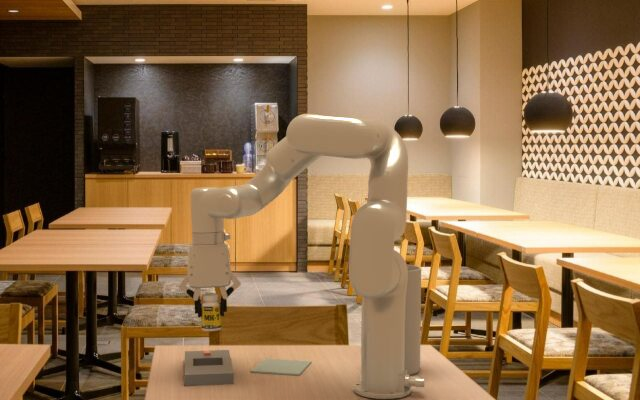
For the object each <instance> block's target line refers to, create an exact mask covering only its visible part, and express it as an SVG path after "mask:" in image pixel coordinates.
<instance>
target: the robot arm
mask: <svg viewBox="0 0 640 400" xmlns="http://www.w3.org/2000/svg"><path fill="white" fill-rule="evenodd" d="M285 133H286V134H285V137H283V138H282V139H281V140H280V141H278V142H277V143H276V144H275V145H273V147H271V148H270V149H269V150H268V151H267V152H266V156H265V158H266V163H265V165H264V167H263V168H262V169H261V170H260V171H259V172H258V173H257V174H256V175H254V176H253V177H252V178H251V179H249V180H248V181H247V182H246V183H244V184H240V185H231V186H224V187H217V186H207V187H205V186H204V187H195V188H193V189H192V190H191V191H190V215H191V217H190V218H191V238H192V239H191V240H192V244H191V245H189V247H188V254H187V274H186V275H185V277H184V278H183V279H182V281H181V282H180V284H179V285H178V287H179V289H180V290H181V291H183V292H184V293H185V294H187V295H188V296H189V297H190V298H191V299H192V300H193V301H194V314H197V318H201V303H202V298H201V297H200V293H201V292H200V291H201V289H204V288H205V289H207V288H208V289H210V288H211V289H212V288H219V290H220V294H221V296H220V297H221V298H220V303H221V317H225V313H227V312H228V305H227V304H228V303H227V302H228V301H227V299H228V297H230V296H231V294H232V293H233V292H234V291H235V290H237V289H238V288H239V287H240V286H241V284H242V283H241V281H240V280H239V279H238V277H237V276H236V275H235V274H234V272H232V267H231V265H232V264H231V255H230V250H229V244H228V243H225V242H226V241H227V240H231V234H230V233H226V232H225V228H224V227H225V226H224V225H225V223H224V221H225V220H226V219H227V220H235V219H239V218H244V217H251V216H253V215H255V214H257V213H259V212H260V211H261V210H263V209H264V208H265V207H266V206H268V205H269V204H270V203H271V202H273V201H274V200H275V199H277V198H278V197H279V196H280V195H281V194H282V193H283V192H284V190H286V188H287V187H288V186H289V185H290V184H291V182H292V181H293V180H294V179H295V178H296V177H297V176H298V175H300V174H302V172H303V171H305V170H306V169H307V168H308V167H310V166H311V165H313V163H314V162H316V161H317V160H318V159H320V158H321V157H322V156H323V157H333V158H342V159H352V160H355V159H356V160H360V159H367V160H369V161H370V169H369V175H368V181H367V182H368V183H367V184H368V185H367V187H368V190H367V199H366V200H367V201H366V203H365V204H363V205H361V206H360V207H359V208H358V209H357V210H356V211H355V213H354V215H353V217H352V220H351V226H350V237H349V255H348V256H349V257H348V279H349V283H350V286H351V287H352V288H351V289H353V291H354V292H355V293H356V294H357V295H359V296H360V297H362V300H361V301H362V302H361V322H360V323H361V327H360V328H361V333H360V334H361V335H360V336H361V337H360V341H361V343H360V344H361V345H360V346H361V348H360V354H361V355H360V359H361V360H360V380H359V381H356V383H355V384H354V385H353V391H354V393H356V394H357V395H358V396H362V397H364V398H367V399H368V398H370V399H376V400H394V399H401V398H404V397H407V396H409V395H410V394H411V393H412V387H416V388H425V378H424V377H423V378H421V376H417V375H407V369H404V345H405V302H406V291H407V282H408V269H407V265H408V264H407V262H406V260H405V258H404V257H403V255H402V254H400V252H398V251H397V250H395V241H397V240H399V239H400V238H401V237H402V236H403V234H404V233H405V230H406V228H407V210H408V209H407V208H408V207H407V206H408V180H409V175H408V174H409V154H408V150H407V146H406V144H405V141H404V139H403V138H402V136H401V135H400V134H399V132H397V131H396V130H395V129H394V128H392V127H391V126H389V125H388V124H386V123H384V122H381V121H379V120H375V119H370V118H357V117H356V118H355V117H342V116H341V117H339V116H331V115H330V116H327V115H322V114H319V113H318V114H315V113H303V114H300V115H297V116H295V117H294V118H293V119H292V120H291V121H290V122H289V124H288V126H287V129H286V132H285ZM224 219H225V220H224ZM231 282H232V283H231ZM231 284H232V285H231ZM188 285H189V286H188ZM228 286H229V287H228ZM226 287H228V288H226ZM193 289H194V290H193Z"/></svg>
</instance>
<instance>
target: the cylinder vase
mask: <svg viewBox="0 0 640 400" xmlns="http://www.w3.org/2000/svg"><path fill="white" fill-rule="evenodd" d="M407 269H408V282H407V291H406V302H405V345H404V369H407V375H410V376H414V375H416V374H417V373H418V372H419V371H420V369H421V333H422V330H421V325H422V322H421V320H422V319H421V317H422V313H421V312H422V267H420V266H418V265H413V264H407Z"/></svg>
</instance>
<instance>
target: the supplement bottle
mask: <svg viewBox="0 0 640 400" xmlns="http://www.w3.org/2000/svg"><path fill="white" fill-rule="evenodd" d="M219 300H220V293H216V292H208V293H203V294H202V295H201V317H200V324H201V325H200V326H201V330H202V331H204V332H217V331H220V330H222V328H223V327H222V316H221V301H219Z"/></svg>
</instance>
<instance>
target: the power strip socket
mask: <svg viewBox="0 0 640 400" xmlns="http://www.w3.org/2000/svg"><path fill="white" fill-rule="evenodd" d="M231 359H232V358H231V353H230V349H218V350H217V349H215V350H213V349H211V350H209V349H208V350H187V351H186V350H185V351H184V387H189V386H191V387H192V386H209V385H210V386H212V385H213V386H216V385H234V383H235V382H234V381H235V380H234V379H235V376H234V375H235V374H234V368H233V363H232V360H231Z"/></svg>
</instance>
